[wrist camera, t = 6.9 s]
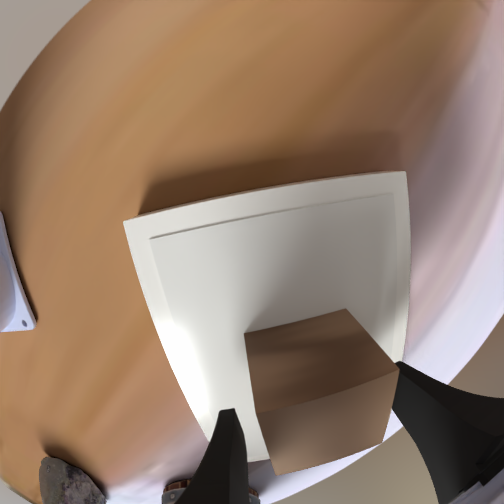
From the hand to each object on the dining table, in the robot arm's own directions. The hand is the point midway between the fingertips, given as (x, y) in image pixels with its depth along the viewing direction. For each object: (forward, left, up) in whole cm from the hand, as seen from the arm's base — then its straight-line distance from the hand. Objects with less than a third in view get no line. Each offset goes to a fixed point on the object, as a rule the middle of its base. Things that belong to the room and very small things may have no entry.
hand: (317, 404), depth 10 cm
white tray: (0, 0, -5) cm, 5 cm away
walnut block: (0, 0, -3) cm, 3 cm away
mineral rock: (-29, -20, -5) cm, 36 cm away
